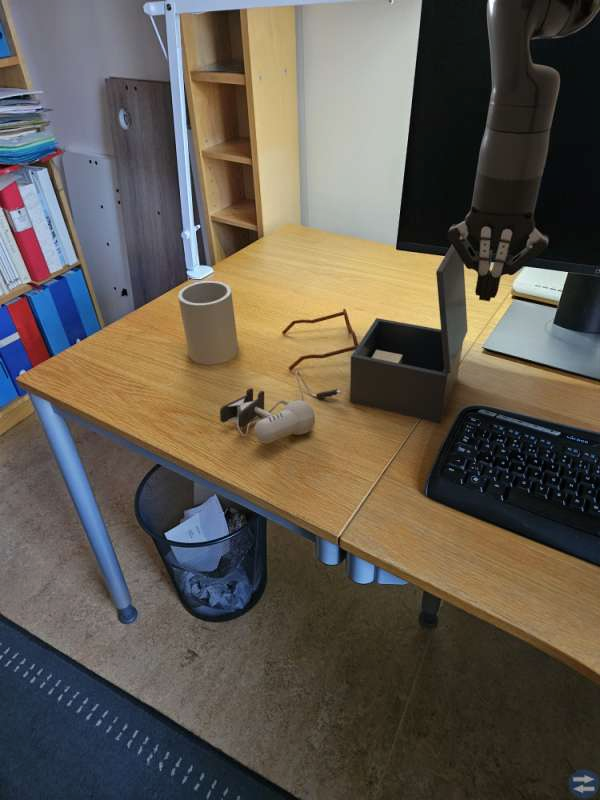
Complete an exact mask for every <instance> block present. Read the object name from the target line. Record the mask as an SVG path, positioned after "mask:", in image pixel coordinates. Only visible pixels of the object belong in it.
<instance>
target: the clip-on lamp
mask: <svg viewBox="0 0 600 800" xmlns="http://www.w3.org/2000/svg"><path fill="white" fill-rule="evenodd" d="M295 377H296V381H297V384H298V388H299V391H300V396H301V400H300V399H298V400H292V401H286V400H282V399H281V400H278V401H277V402H276V403H275V404H274V405H273V406H272V407H271V408H270V409H269V410H268V411H266V410H265V390H260V391H259V392H258V393H257V398H256V399H254V388H250V387H249V388H247V390H246V393H245V394H246V395H244V396H241V397H239V398H237V399H235V400H233V401H230V402H229V403H227V404H224V405H223V406H221V407H220V410H219V421H220V422H221V423H227V422H230V421H231V422H232V421H236V428H237V430H238V432H239V434H240V435H241V436H242V437H243V438H245V437H247V436H248V432H249V427H250V426H253V425H254V428H253V432H254V436H255V438H256V439H257V440H258V441H259V442H260V443H262V444H269V443H272V442H275V441H277V440H279V439H282V438H284V437H287V436H288V435H289V436H290V435H295V436H296V435H297V436H299V435H304V434H305V435H306V434H307V433H308V432H310V431H311V430H312V429H313V427H314V425H315V422H316V416H315V412H314V410H313V408H312V406H311V405H310V404H309V403H308V402H307V401H305V400H304V394H303V390H302V387H301V384H300V380H301V382H302V384H303V385H304V387H305V389H306V391H307V392H308V393H309V395H310V396H312V397H314V398H316V399H321V398H323V399H325V398H328V397H330V398H332V397H333V396H337V395H338V394H342V393H343V391H342V390H339V389H337V388H336V389H331V390H326V391H321V392H320V391H319V392H318V393H316V394H315V393H313V392H312V390H311V389H310V388H309V386H308V384H307V383H306V381H305V379H304V377H303V375H302V374H301V373H300V371H299V370H296V371H295ZM299 378H300V380H299ZM280 404H282V405H285V406H284V408H283V409H282V410H281V411H278V412H276V413H274V414H272V412H273V411H274V410H275V408H277V407H278V406H279V405H280ZM256 417H258V418H257V419H256V420H254V419H255V418H256ZM253 420H254V421H253ZM246 426H247V427H246ZM244 427H246V432H245V434H244V433H243V432H242V430H241V429H240V428H242V429H243V428H244Z"/></svg>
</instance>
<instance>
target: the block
mask: <svg viewBox="0 0 600 800" xmlns="http://www.w3.org/2000/svg"><path fill="white" fill-rule="evenodd" d="M402 357H403V355H401V354H396V353H391V352H385V351H380V350H376V351H375V353H374V355H373V356H372V358H375V359H380V360H385V361H390V362H395V363H400V364H402Z"/></svg>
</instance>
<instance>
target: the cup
mask: <svg viewBox="0 0 600 800" xmlns="http://www.w3.org/2000/svg"><path fill="white" fill-rule="evenodd" d="M232 293H233V292H232V288H231V286H230V285H228V284H227V283H225V282H222V281H217V280H204V281H202V280H201V281H197V282H193V283H190V284H188V285H186V286H184V287H183V288H181V289H180V290H179V292H178V293H177V299H178V304H179V308H180V315H181V321H182V325H183V330H184V336H185V341H186V347H187V351H188V356H189V359H190V360H191V361H193V362H194V363H195V364H198V365H203V366H215V365H216V366H217V365H221V364H224V363H227V362H229V361H231V360H232V359H234V358H235V357H236V356H237V355H238V353H239V343H238V334H237V325H236V317H235V308H234V302H233V295H232Z"/></svg>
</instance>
